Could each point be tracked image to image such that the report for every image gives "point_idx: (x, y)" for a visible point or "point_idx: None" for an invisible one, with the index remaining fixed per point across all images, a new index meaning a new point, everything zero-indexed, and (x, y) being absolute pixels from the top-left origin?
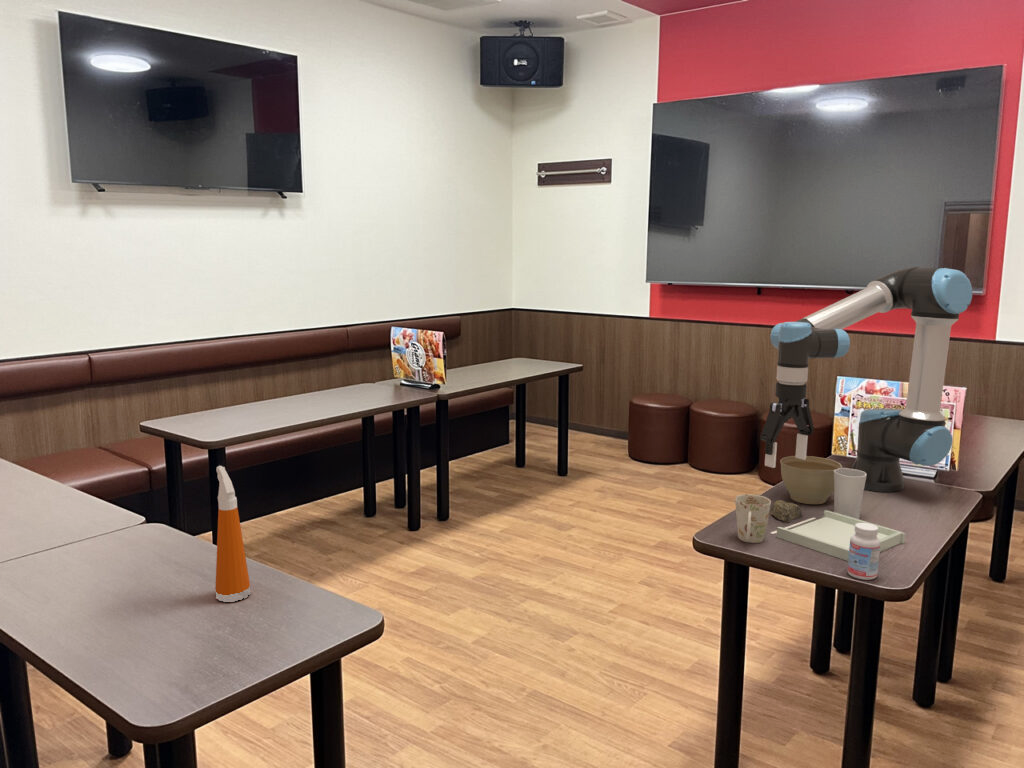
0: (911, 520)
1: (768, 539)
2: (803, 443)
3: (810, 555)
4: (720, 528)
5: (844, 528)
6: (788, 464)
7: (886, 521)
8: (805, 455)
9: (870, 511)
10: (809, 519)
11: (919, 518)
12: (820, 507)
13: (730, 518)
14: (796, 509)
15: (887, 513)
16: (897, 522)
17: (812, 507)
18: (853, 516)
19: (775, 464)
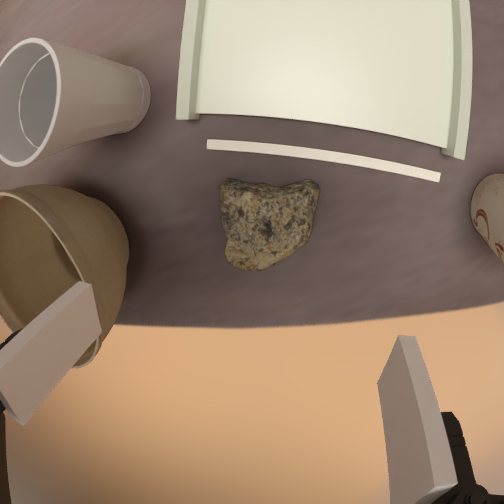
0: (54, 10)
1: (476, 167)
2: (34, 353)
3: (491, 42)
4: (468, 294)
5: (255, 20)
6: None
7: (90, 24)
8: (70, 294)
9: None
10: (235, 147)
11: (36, 14)
12: (112, 187)
13: (388, 315)
14: (249, 190)
15: None
16: (81, 10)
17: (128, 201)
18: (130, 67)
19: (402, 348)
